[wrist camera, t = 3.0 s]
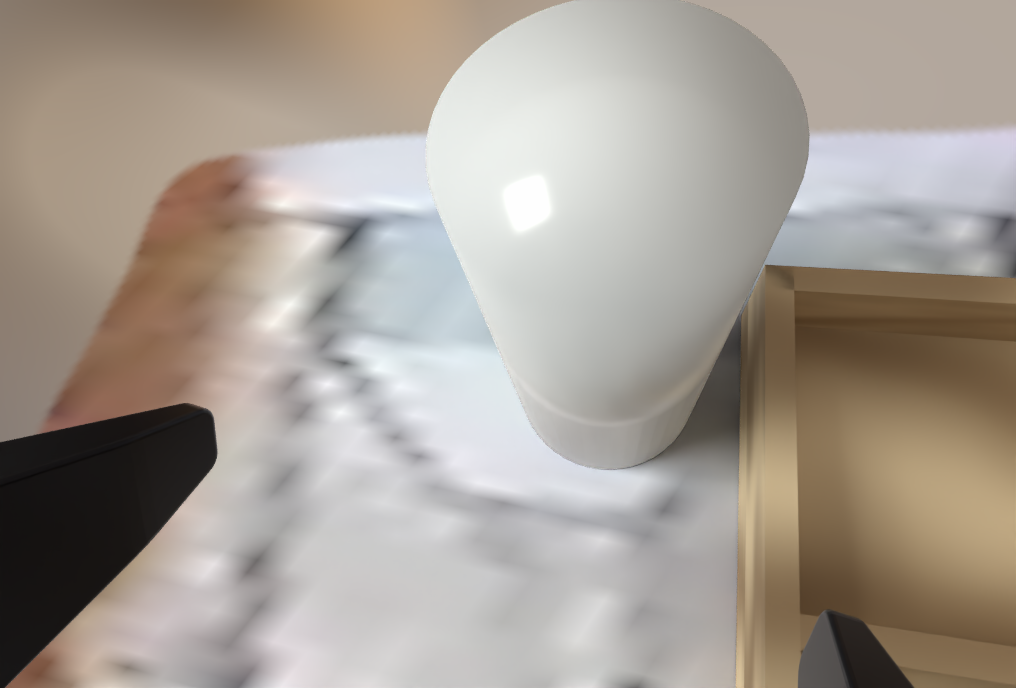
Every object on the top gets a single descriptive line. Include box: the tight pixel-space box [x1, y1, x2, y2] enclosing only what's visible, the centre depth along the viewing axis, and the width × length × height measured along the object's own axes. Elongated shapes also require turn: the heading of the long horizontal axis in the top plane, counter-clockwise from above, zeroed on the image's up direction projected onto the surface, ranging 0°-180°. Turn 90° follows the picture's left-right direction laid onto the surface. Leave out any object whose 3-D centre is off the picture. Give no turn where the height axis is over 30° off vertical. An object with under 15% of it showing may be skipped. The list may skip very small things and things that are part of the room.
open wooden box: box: [736, 265, 1016, 688], centre depth 16 cm, size 20×11×4 cm, turn 171°
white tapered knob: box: [426, 0, 809, 470], centre depth 16 cm, size 6×6×13 cm
